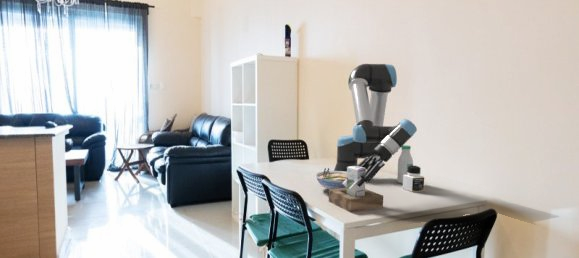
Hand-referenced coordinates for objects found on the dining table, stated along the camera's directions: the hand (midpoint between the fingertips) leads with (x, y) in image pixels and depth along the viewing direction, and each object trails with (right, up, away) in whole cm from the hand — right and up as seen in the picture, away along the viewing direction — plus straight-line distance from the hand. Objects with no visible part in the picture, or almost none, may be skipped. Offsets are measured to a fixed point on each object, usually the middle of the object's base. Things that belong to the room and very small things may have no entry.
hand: (347, 188), depth 149 cm
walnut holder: (+3, -7, +1) cm, 8 cm away
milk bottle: (+38, -4, +43) cm, 58 cm away
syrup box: (+3, -6, +1) cm, 7 cm away
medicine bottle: (+37, -6, +28) cm, 47 cm away
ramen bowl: (-1, -5, +24) cm, 24 cm away
